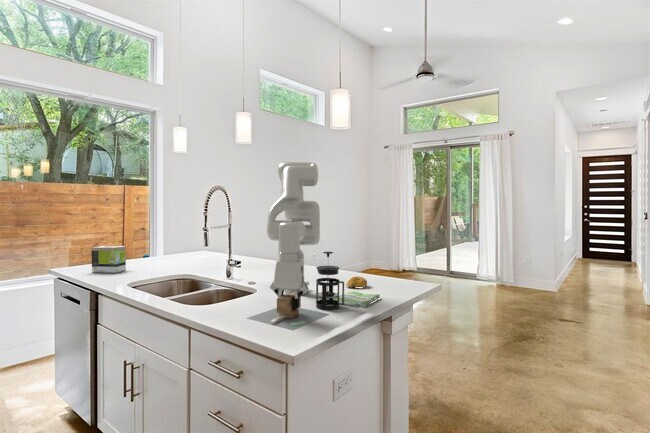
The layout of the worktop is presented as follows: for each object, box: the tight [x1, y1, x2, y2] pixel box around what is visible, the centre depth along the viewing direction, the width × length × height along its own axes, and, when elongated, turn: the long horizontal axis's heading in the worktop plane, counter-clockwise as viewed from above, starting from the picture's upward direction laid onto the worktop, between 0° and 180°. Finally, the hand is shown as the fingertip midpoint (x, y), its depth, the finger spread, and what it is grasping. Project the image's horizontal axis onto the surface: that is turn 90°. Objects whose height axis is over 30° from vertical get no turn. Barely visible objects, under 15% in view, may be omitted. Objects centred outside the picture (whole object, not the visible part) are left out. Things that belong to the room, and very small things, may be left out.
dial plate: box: [246, 307, 330, 331], centre depth 134 cm, size 21×21×2 cm
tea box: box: [91, 245, 127, 274], centre depth 221 cm, size 15×10×15 cm, turn 84°
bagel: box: [345, 276, 368, 287], centre depth 188 cm, size 10×11×5 cm
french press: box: [315, 251, 345, 311], centre depth 145 cm, size 12×9×23 cm
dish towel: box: [333, 290, 381, 309], centre depth 159 cm, size 17×23×4 cm
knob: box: [271, 292, 302, 323], centre depth 131 cm, size 15×7×7 cm, turn 152°
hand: (288, 307), depth 134 cm, fingers closed on knob, 4 cm apart
